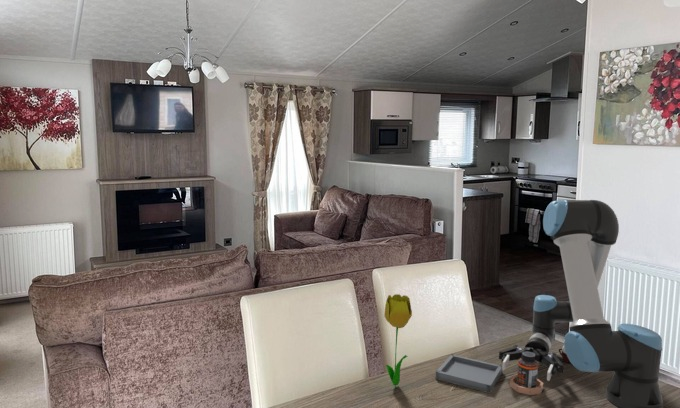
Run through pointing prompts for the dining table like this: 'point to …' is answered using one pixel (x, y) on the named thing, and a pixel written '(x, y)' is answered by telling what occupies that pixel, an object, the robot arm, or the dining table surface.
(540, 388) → the holder ring
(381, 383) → the dining table surface
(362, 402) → the dining table surface
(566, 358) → the cocoa
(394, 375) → the flower
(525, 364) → the supplement bottle
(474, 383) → the tray
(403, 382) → the dining table surface
